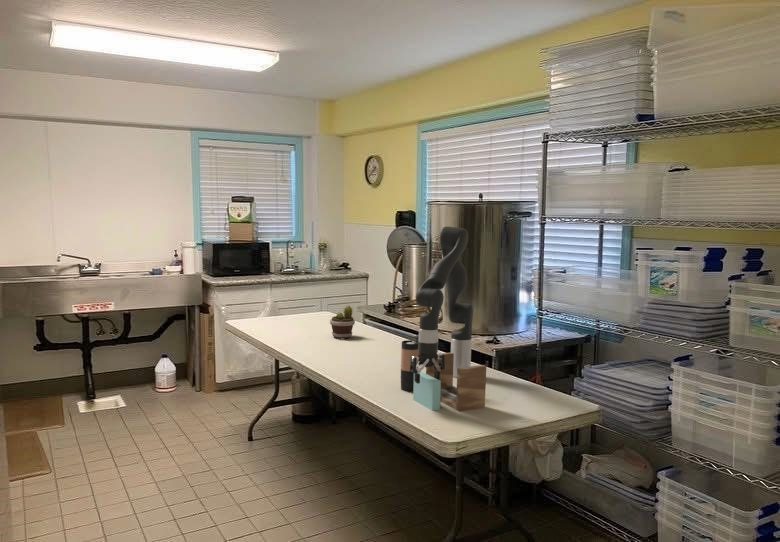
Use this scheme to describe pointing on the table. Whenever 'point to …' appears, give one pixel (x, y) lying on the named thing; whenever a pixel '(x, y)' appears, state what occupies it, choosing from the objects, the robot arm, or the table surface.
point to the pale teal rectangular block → (427, 391)
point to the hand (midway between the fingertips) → (427, 381)
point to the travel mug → (408, 364)
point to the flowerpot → (343, 324)
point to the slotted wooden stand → (461, 385)
